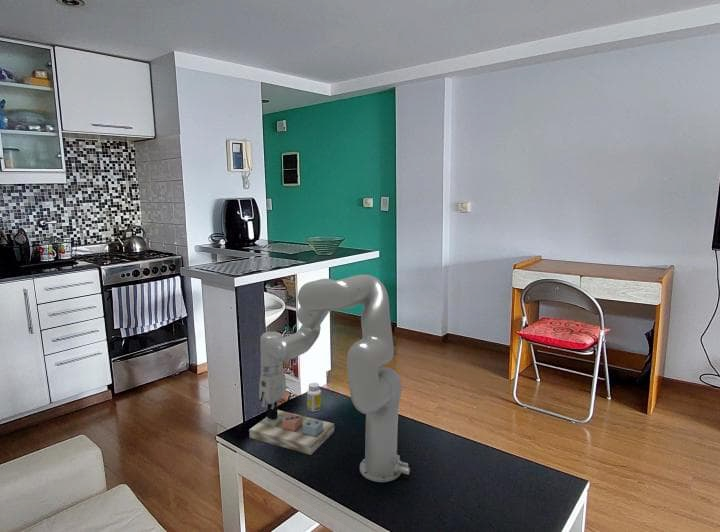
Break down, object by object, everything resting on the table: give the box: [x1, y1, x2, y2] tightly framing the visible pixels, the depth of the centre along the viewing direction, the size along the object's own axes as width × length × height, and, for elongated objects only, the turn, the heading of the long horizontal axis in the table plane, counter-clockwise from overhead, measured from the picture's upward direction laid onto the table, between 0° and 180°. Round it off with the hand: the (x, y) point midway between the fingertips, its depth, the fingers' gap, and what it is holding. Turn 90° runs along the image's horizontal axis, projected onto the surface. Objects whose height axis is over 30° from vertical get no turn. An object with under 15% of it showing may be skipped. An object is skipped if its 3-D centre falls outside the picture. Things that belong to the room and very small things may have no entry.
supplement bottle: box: [306, 382, 322, 413], centre depth 176 cm, size 5×5×10 cm
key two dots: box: [302, 418, 323, 437], centre depth 154 cm, size 5×5×3 cm
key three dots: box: [282, 413, 303, 431], centre depth 157 cm, size 5×5×3 cm
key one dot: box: [262, 416, 283, 427], centre depth 161 cm, size 5×5×3 cm
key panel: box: [248, 409, 335, 456], centre depth 158 cm, size 24×16×3 cm, turn 66°
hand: (272, 417), depth 160 cm, fingers closed
